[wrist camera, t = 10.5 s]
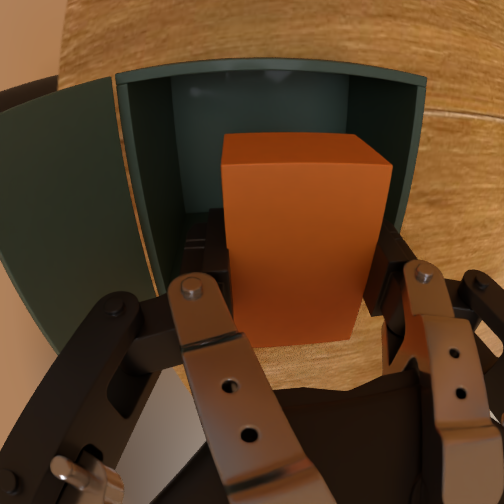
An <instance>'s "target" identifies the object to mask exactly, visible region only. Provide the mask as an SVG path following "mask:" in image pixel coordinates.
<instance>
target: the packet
mask: <svg viewBox="0 0 504 504" xmlns="http://www.w3.org/2000/svg"><path fill="white" fill-rule="evenodd" d="M392 169H393V165H392V164H391V163H389V162H388V161H387V160H386V159H385V158H383V157H382V156H381V155H380V154H379V153H377V152H376V151H375V150H374V149H373V148H371V147H370V146H369V145H368V144H366V143H365V142H364V141H363V140H361V139H360V138H359V137H357V136H356V135H355V134H340V133H311V132H262V133H233V134H224V141H223V149H222V158H221V180H222V194H223V208H224V221H225V234H226V247H227V249H229V259H230V272H231V284H232V296H233V315H234V323H235V325H236V328H237V330H238V332H244V333H245V334H246V336H247V338H248V340H249V342H250V344H251V346H252V348H263V347H278V346H291V345H303V344H313V343H323V342H333V341H341V340H349V339H350V336H351V333H352V330H353V327H354V324H355V321H356V318H357V315H358V312H359V308H360V305H361V302H362V298H363V293H364V290H365V286H366V283H367V279H368V275H369V272H370V268H371V264H372V260H373V256H374V252H375V248H376V244H377V242H378V238H379V234H380V229H381V225H382V220H383V216H384V211H385V206H386V201H387V196H388V191H389V186H390V180H391V175H392Z"/></svg>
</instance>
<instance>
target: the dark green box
mask: <svg viewBox="0 0 504 504" xmlns="http://www.w3.org/2000/svg"><path fill="white" fill-rule="evenodd" d="M115 79H116V85H117V86H116V88H117V96H118V104H119V112H120V119H121V126H122V133H123V139H124V145H125V151H126V157H127V162H128V168H129V173H130V178H131V183H132V188H133V193H134V198H135V203H136V207H137V212H138V216H139V221H140V225H141V229H142V234H143V238H144V242H145V246H146V250H147V254H148V257H149V261H150V265H151V269H152V272H153V276H154V280H155V283H156V287H157V290H158V293H159V296H161V295H163V294H165V293H167V288H168V286H169V284H170V283H171V282H172V281H173V280H174V279H175V278H176V277H178V276H179V271H180V266H181V261H182V256H183V251H184V246H185V242H186V237H187V232H188V230H189V229H190V228H191V227H192V226H193V225H194V224H195V223H201V222H207V221H208V213H209V208H223V194H222V180H221V158H222V149H223V141H224V134H233V133H262V132H311V133H340V134H355V135H356V136H357V137H359V138H360V139H361V140H363V141H364V142H365V143H366V144H368V145H369V146H370V147H371V148H373V149H374V150H375V151H376V152H377V153H379V154H380V155H381V156H382V157H383V158H385V159H386V160H387V161H388V162H389V163H391V164H392V165H393V169H392V175H391V180H390V186H389V191H388V196H387V201H386V206H385V211H384V216H383V218H385V219H386V220H387V221H389V222H390V223H392V224H393V226H394V227H395V228H396V230H397V231H398V233H399V234H400V230H401V227H402V223H403V219H404V215H405V211H406V206H407V202H408V198H409V193H410V189H411V184H412V179H413V174H414V169H415V164H416V158H417V153H418V147H419V141H420V134H421V127H422V120H423V113H424V104H425V95H426V88H425V87H426V84H427V77H425V76H420V75H416V74H412V73H407V72H403V71H398V70H393V69H388V68H382V67H377V66H371V65H364V64H357V63H350V62H341V61H331V60H319V59H304V58H276V57H253V58H225V59H209V60H198V61H188V62H179V63H171V64H164V65H158V66H152V67H146V68H141V69H136V70H131V71H126V72H122V73H117V74H115Z"/></svg>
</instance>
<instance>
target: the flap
mask: <svg viewBox="0 0 504 504" xmlns="http://www.w3.org/2000/svg"><path fill="white" fill-rule="evenodd" d="M0 260H1V262H2V264H3V266H4V268H5V270H6V272H7V274H8V276H9V278H10V280H11V282H12V284H13V285H14V287H15V289H16V291H17V293H18V294H19V296H20V298H21V300H22V301H23V303H24V305H25V306H26V308H27V310H28V311H29V313H30V314H31V316H32V318H33V320H34V321H35V323H36V324H37V326H38V327H39V329H40V330H41V332H42V333H43V335H44V336H45V338H46V339H47V341H48V342H49V343H50V345H51V347H52V348H53V349H54V351H55V352H56V354H57V355H59V354H60V352H61V351H62V349H63V348H64V347H65V345H66V344H67V342H68V341H69V339H70V338H71V337H72V335H73V334H74V332H75V331H76V330H77V328H78V327H79V325H80V324H81V323H82V321H83V320H84V319H85V317H86V316H87V315H88V313H89V312H90V311H91V309H92V308H93V307H94V305H95V304H96V303H97V302H98V300H100V299H101V298H102V297H104V296H105V295H107V294H109V293H112V292H116V291H127V292H130V293H132V294H134V295H135V296H136V297H137V298H138V300H139V302H141V301H145V300H148V299H152V298H155V297H156V294H155V291H154V287H153V284H152V280H151V277H150V273H149V270H148V266H147V262H146V259H145V255H144V251H143V247H142V243H141V239H140V235H139V231H138V227H137V223H136V219H135V214H134V210H133V206H132V201H131V196H130V192H129V187H128V182H127V177H126V172H125V167H124V161H123V156H122V150H121V144H120V138H119V132H118V126H117V119H116V112H115V104H114V97H113V88H112V79H111V77H105V78H101V79H97V80H93V81H90V82H86V83H82V84H79V85H75V86H72V87H69V88H66V89H62V90H59V91H56V92H53V93H50V94H47V95H44V96H42V97H39V98H36V99H33V100H31V101H28V102H26V103H23V104H20V105H18V106H16V107H13V108H11V109H8V110H6V111H4V112H1V113H0Z"/></svg>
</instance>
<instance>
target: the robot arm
mask: <svg viewBox="0 0 504 504" xmlns="http://www.w3.org/2000/svg"><path fill="white" fill-rule="evenodd" d="M363 298H364V301H365V303H366V305H367V308H368V310H369V313H370V315H371V317H374V316H381V315H383V317H384V319H385V320H384V322H383V325H382V328H381V334H382V369H383V370H382V376H380V377H378V378H376V379H374V380H372V381H370V382H368V383H365V384H363V385H361V386H359V387H356V388H354V389H352V390H349V391H337V390H326V389H316V388H306V387H301V388H291V389H279V390H272V388H271V386H270V384H269V382H268V380H267V378H266V375H265V373H264V371H263V369H262V367H261V365H260V363H259V361H258V359H257V357H256V355H255V353H254V350H253V348H252V346H251V344H250V342H249V340H248V338H247V336H246V334H245V333H244V332H238V330H237V328H236V325H235V323H234V315H233V296H232V284H231V272H230V259H229V249H227V247H226V234H225V221H224V208H209V213H208V221H207V222H201V223H195V224H194V225H193V226H192V227H191V228H190V229H189V230H188V232H187V237H186V242H185V246H184V251H183V256H182V261H181V266H180V271H179V276H178V277H176V278H175V279H174V280H173V281H172V282H171V283H170V284H169V286H168V288H167V293H165V294H163V295H161V296H159V297H155V298H152V299H148V300H145V301H141V302H139V300H138V298H137V297H136V296H135V295H134V294H132V293H130V292H127V291H116V292H112V293H109V294H107V295H105V296H104V297H102V298H101V299H100V300H98V302H97V303H96V304H95V305H94V307H93V308H92V309H91V311H90V312H89V313H88V315H87V316H86V317H85V319H84V320H83V321H82V323H81V324H80V325H79V327H78V328H77V330H76V331H75V332H74V334H73V335H72V337H71V338H70V339H69V341H68V342H67V344H66V345H65V347H64V348H63V349H62V351H61V352H60V354H59V355H58V357H57V358H56V360H55V361H54V363H53V364H52V366H51V367H50V369H49V370H48V372H47V373H46V375H45V376H44V378H43V380H42V381H41V383H40V384H39V386H38V387H37V389H36V390H35V392H34V394H33V395H32V397H31V398H30V400H29V402H28V403H27V405H26V407H25V408H24V410H23V412H22V413H21V415H20V417H19V418H18V420H17V422H16V424H15V425H14V427H13V429H12V431H11V432H10V434H9V436H8V438H7V440H6V441H5V443H4V445H3V447H2V449H1V451H0V504H122V500H123V496H124V484H123V481H122V479H121V477H120V475H119V474H118V473H117V472H116V471H115V468H116V466H117V464H118V462H119V460H120V458H121V455H122V453H123V451H124V449H125V447H126V445H127V442H128V440H129V438H130V436H131V434H132V432H133V430H134V427H135V425H136V423H137V421H138V419H139V417H140V415H141V413H142V410H143V408H144V407H145V404H146V402H147V400H148V398H149V396H150V394H151V392H152V390H153V388H154V386H155V384H156V382H157V380H158V378H159V375H160V374H161V371H162V370H163V369H166V368H170V367H174V366H177V365H180V364H183V365H184V368H185V372H186V375H187V379H188V382H189V386H190V389H191V393H192V396H193V399H194V403H195V405H196V409H197V412H198V415H199V418H200V422H201V425H202V428H203V431H204V434H205V437H206V442H205V443H204V444H203V445H202V446H201V448H200V449H199V450H198V451H197V452H196V453H195V454H194V456H193V457H192V458H191V459H190V460H189V461H188V462H187V464H186V465H185V466H184V467H183V468H182V469H181V470H180V472H179V473H178V474H177V475H176V476H175V477H174V478H173V479H172V480H171V481H170V482H169V483H168V484H167V486H166V487H165V488H164V489H163V490H162V491H161V492H160V493H159V494H158V495H157V496H156V497H155V498H154V499H153V500H152V501H151V502H150V504H504V289H503V288H501V287H500V286H499V285H498V284H497V283H496V282H495V281H494V280H493V279H492V278H491V277H490V276H488V275H487V274H485V273H484V272H481V271H479V270H468V271H466V272H465V274H464V276H463V278H462V280H461V281H456V280H450V279H445V278H444V277H443V275H442V273H441V271H440V270H439V269H438V268H437V267H436V266H434V265H433V264H431V263H429V262H427V261H424V260H418V259H417V258H416V256H415V255H414V253H413V252H412V250H411V249H410V248H409V246H408V245H407V243H406V242H405V241H404V240H403V238H402V237H401V235H400V234H399V233H398V231H397V230H396V228H395V227H394V226H393V224H392V223H390V222H389V221H387V220H386V219H385V218H383V220H382V225H381V229H380V234H379V238H378V242H377V244H376V248H375V252H374V256H373V260H372V264H371V268H370V272H369V275H368V279H367V283H366V286H365V290H364V293H363ZM482 320H483V321H484V322H485V323H486V324H487V326H488V327H489V328H490V329H491V330H492V331H493V332H494V333H495V334H496V335H497V336H498V338H499V339H500V340H501V341H502V343H503V353H502V355H501V356H500V357H499V358H498V357H496V356H495V355H494V354H493V353H492V352H491V350H490V349H489V348H488V347H487V346H486V345H485V344H484V342H483V341H482V340H481V339H480V338H479V337H478V336H477V335H476V334H475V330H476V329H477V327H478V325H479V324H480V322H481V321H482ZM489 409H490V410H491V412H492V413H493V414H494V416H495V417H496V419H497V420H498V421H499V423H498V422H497V421H495V420H494V419H493V418H491V417H490V411H489Z"/></svg>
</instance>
